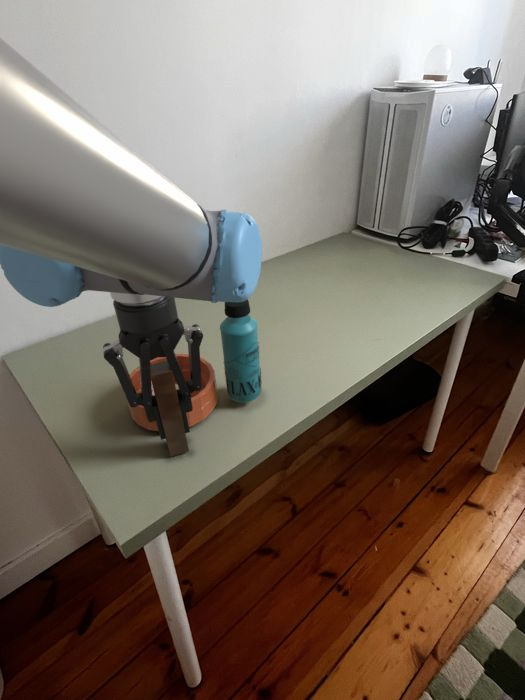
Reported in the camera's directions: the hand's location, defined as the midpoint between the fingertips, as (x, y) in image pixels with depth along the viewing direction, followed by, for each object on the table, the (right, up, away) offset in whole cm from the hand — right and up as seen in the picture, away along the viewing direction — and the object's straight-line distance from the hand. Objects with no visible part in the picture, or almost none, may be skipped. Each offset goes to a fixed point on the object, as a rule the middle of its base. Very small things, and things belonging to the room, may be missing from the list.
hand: (174, 429), depth 67 cm
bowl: (-2, +2, +12) cm, 12 cm away
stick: (0, -3, +2) cm, 4 cm away
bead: (-2, +5, +10) cm, 12 cm away
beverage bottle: (+11, +3, +12) cm, 17 cm away
